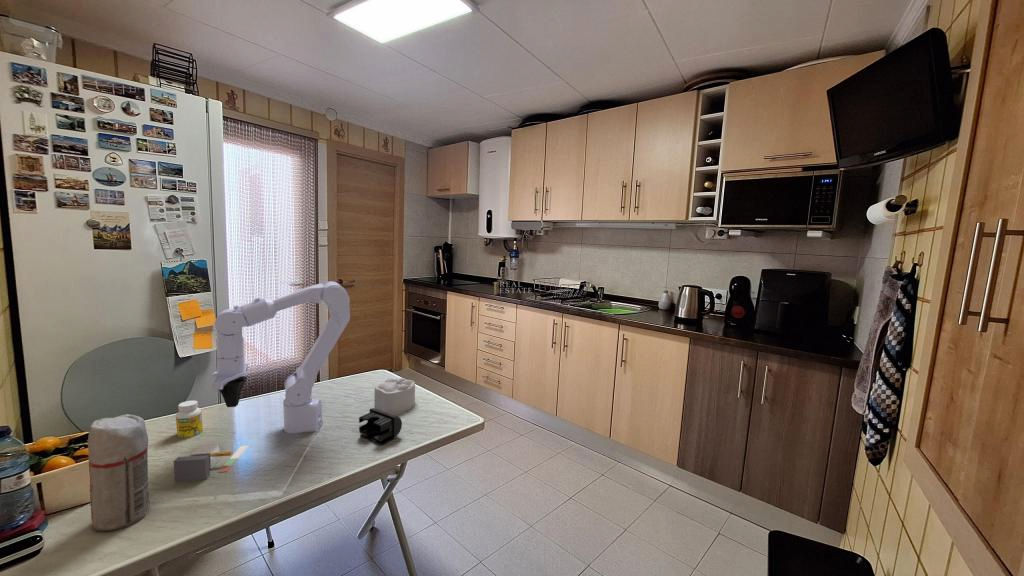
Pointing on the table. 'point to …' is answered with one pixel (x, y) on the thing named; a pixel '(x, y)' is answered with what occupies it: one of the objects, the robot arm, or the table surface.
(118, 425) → the paper flour sack
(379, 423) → the end cap
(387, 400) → the lumpy-topped squat cylinder
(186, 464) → the gauge board
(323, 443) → the table surface
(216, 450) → the grey block
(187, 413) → the supplement bottle
